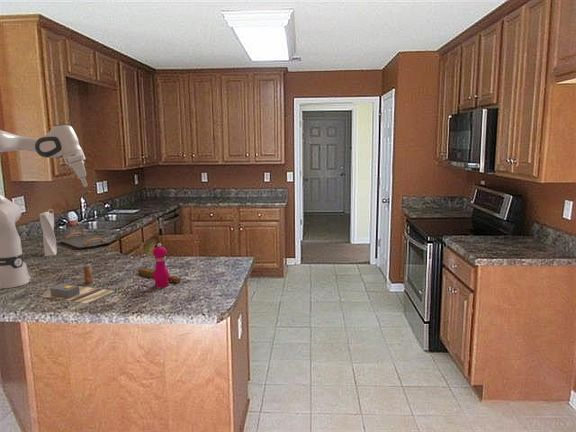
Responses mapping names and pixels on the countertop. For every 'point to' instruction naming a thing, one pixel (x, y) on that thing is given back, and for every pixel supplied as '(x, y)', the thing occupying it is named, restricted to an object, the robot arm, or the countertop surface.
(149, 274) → the tap handle
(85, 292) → the subfloor panel
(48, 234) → the skyscraper
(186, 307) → the countertop surface
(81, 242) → the serving board
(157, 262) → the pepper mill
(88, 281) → the awl
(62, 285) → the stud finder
